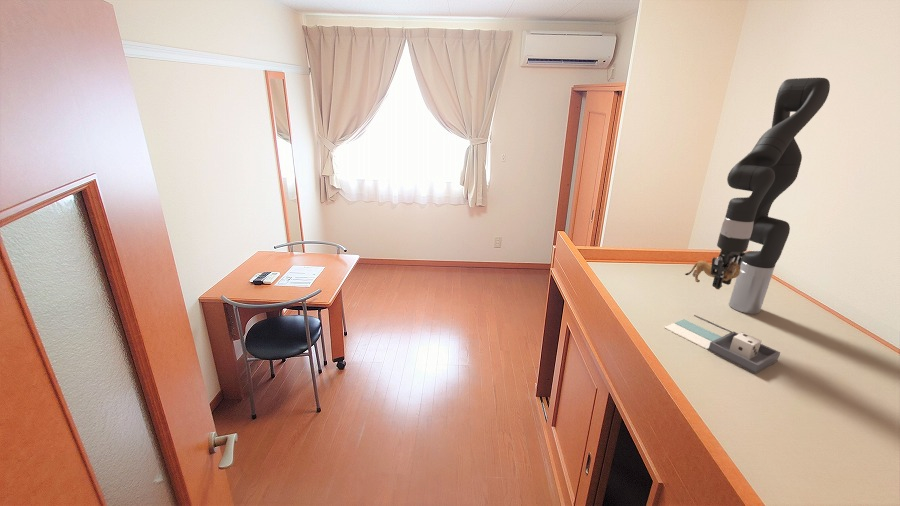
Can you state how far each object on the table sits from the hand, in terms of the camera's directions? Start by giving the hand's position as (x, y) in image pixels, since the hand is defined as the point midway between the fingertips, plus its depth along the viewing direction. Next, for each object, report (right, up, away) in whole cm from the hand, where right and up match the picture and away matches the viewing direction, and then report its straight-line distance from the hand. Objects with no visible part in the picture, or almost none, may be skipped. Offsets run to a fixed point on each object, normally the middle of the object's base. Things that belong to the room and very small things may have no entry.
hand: (721, 285), depth 124 cm
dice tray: (0, -20, -9) cm, 22 cm away
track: (-5, -15, +3) cm, 16 cm away
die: (0, -19, -9) cm, 21 cm away
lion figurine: (-1, 0, +3) cm, 3 cm away
